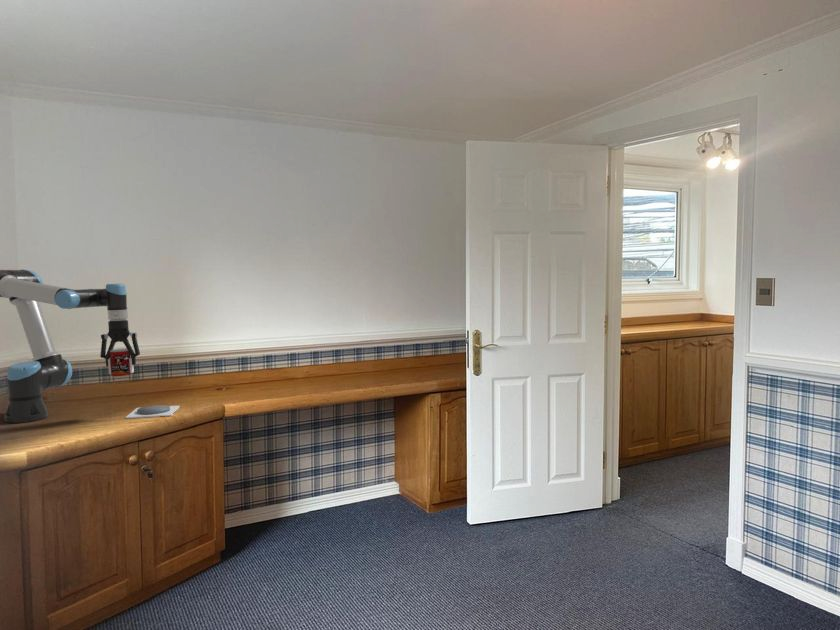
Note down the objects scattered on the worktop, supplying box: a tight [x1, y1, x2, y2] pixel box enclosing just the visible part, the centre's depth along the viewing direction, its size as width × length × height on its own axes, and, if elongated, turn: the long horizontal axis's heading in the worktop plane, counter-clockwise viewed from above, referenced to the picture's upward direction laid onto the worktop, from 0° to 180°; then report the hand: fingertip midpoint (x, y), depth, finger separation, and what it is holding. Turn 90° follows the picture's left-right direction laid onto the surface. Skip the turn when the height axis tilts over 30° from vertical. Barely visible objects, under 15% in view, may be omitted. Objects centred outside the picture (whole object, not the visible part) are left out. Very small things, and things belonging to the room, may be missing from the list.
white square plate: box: [125, 404, 180, 420], centre depth 256 cm, size 18×18×2 cm
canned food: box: [110, 347, 132, 377], centre depth 251 cm, size 8×8×11 cm
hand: (121, 373), depth 252 cm, fingers closed on canned food, 8 cm apart
